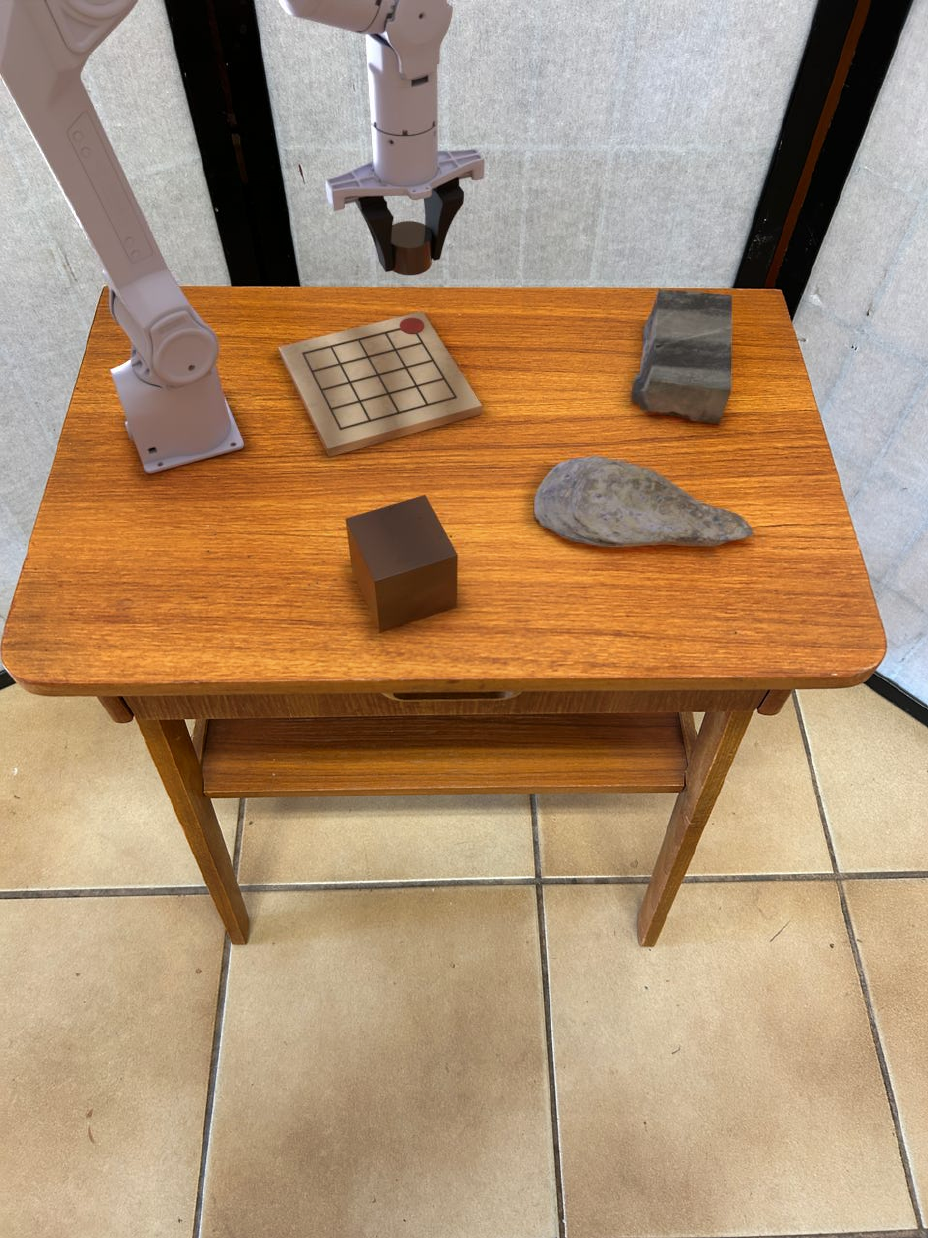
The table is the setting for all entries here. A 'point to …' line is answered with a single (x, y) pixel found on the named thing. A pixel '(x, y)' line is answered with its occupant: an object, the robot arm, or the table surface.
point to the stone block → (686, 356)
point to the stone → (628, 507)
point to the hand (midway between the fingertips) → (409, 260)
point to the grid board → (378, 383)
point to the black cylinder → (411, 248)
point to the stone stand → (403, 562)
